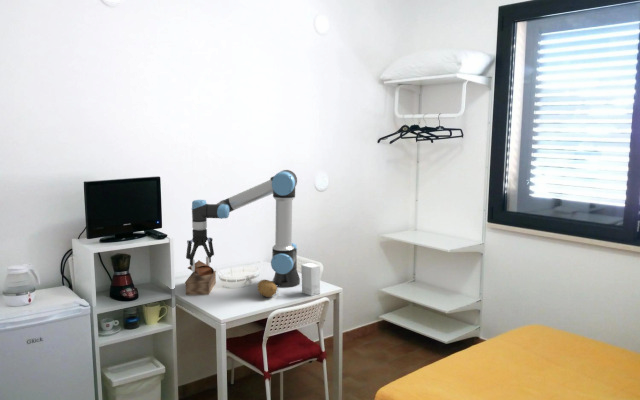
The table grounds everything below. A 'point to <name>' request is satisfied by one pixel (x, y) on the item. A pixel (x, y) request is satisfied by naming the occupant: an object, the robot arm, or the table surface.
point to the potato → (267, 288)
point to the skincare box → (310, 279)
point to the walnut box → (200, 284)
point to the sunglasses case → (202, 269)
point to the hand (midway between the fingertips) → (200, 269)
